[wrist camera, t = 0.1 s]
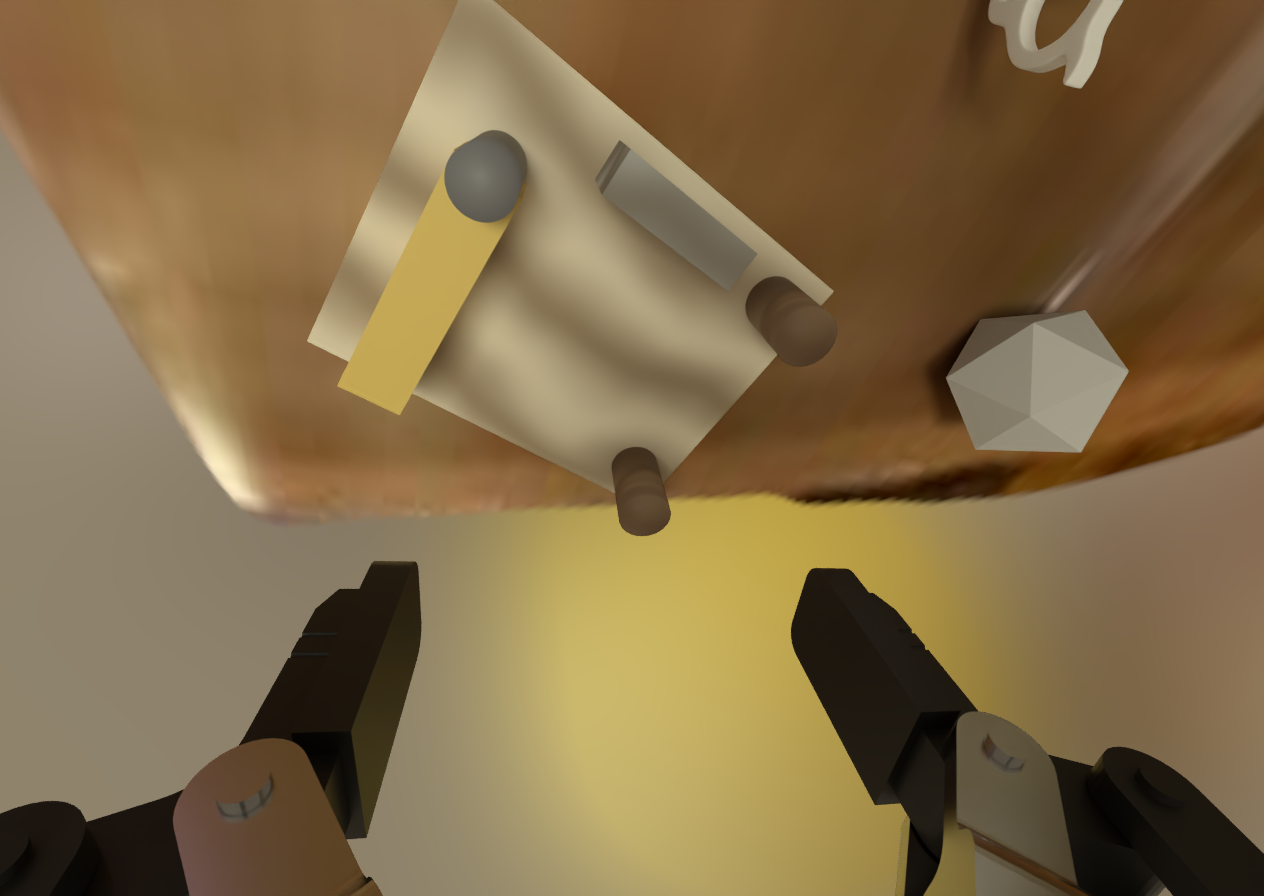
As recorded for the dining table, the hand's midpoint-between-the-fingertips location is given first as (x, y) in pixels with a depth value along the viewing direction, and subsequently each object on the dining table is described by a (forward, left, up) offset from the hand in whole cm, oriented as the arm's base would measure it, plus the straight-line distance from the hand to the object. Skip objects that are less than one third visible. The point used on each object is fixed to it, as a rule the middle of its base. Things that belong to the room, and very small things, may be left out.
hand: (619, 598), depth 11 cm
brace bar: (+3, -6, -21) cm, 22 cm away
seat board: (+1, +1, -22) cm, 22 cm away
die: (-11, +25, -23) cm, 35 cm away
